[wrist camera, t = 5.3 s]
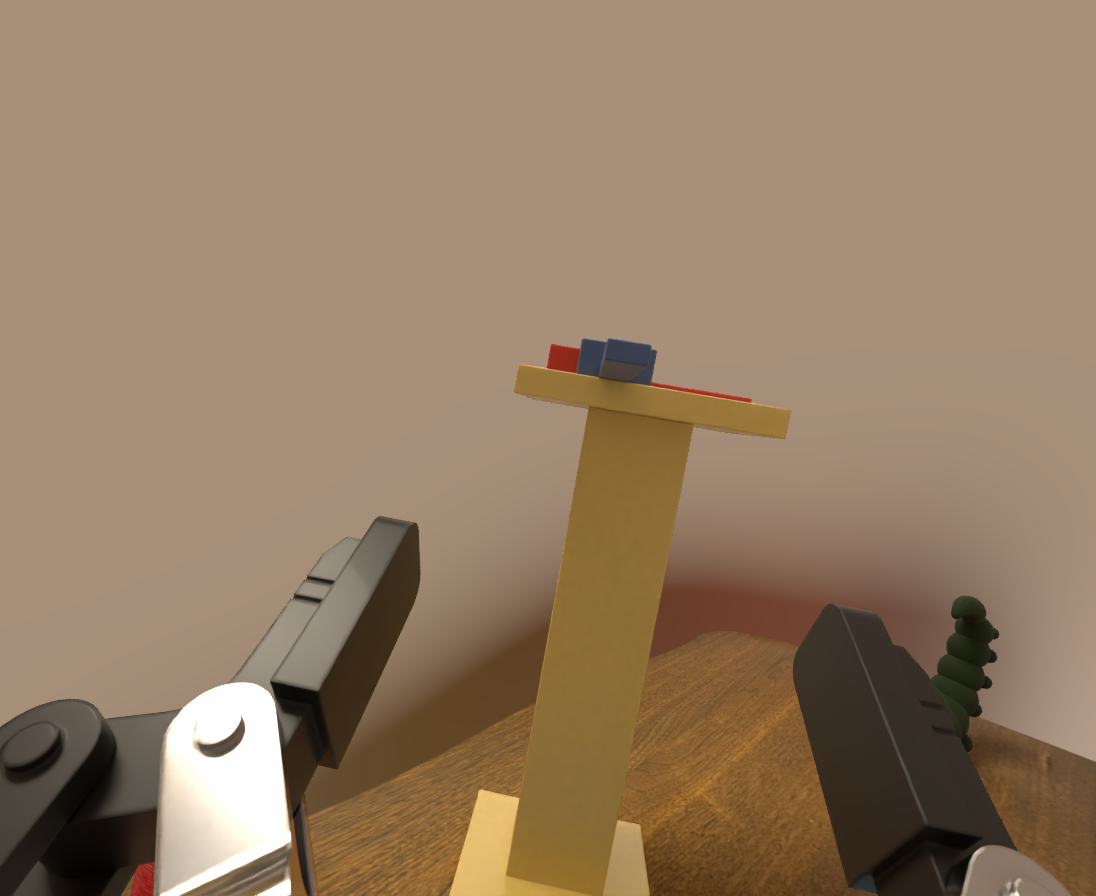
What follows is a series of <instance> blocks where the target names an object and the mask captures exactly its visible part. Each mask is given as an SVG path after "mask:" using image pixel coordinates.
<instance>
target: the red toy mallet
mask: <svg viewBox="0 0 1096 896" xmlns="http://www.w3.org/2000/svg"><path fill="white" fill-rule="evenodd" d="M579 354H580V348H573V347H567V346H561V345H555V344H551V347H550V353H549V359H548V365H547V369H552V370H558V371H564V372H570V373H576V371H577V366H578V360H579ZM651 386H653V387H659V388H665V389H671V390H677V391H683V392H689V393H695V394H700V395H706V396H712V397H718V398H724V399H730V400H736V401H742V402H748V403H751V399H749V398H743V397H737V396H730V395H725V394H719V393H713V392H707V391H701V390H695V389H689V388H683V387H677V386H671V385H665V384H659V383H653V382H651Z"/></svg>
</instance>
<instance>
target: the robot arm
mask: <svg viewBox="0 0 1096 896" xmlns="http://www.w3.org/2000/svg"><path fill="white" fill-rule="evenodd" d="M419 553H420V552H419V529H418V525H417V523H414V522H409V521H403V520H398V519H392V518H388V517H382V516H379V517H377V518H376V519H375V520H374V522H373V523H372V524H371V526H370V528H369V529H368V531H367V532H366V534H365V535H364V537H363V538H362V540H360V539H354V538H349V537H346V538H344V539H343V540H342V541H340V542H339V543H337V544H336V545H335V546H333V547H332V548H331V549H329V550H328V551H326V552H325V553H323V554H322V556H321V557H320V559H319V560H318V561H317V563H316V564H315V566H314V567H313V568H312V570H311V571H310V573H309V574H308V575H307V579H306V581H305V580H304V581H303V582H302V584H301V585H300V586H299V588H298V589H297V591H296V592H295V593H294V597H293V599H290V601H289V602H288V603H287V605H286V606H285V607H284V609H283V610H282V612H281V613H280V615H279V616H278V617H277V619H276V620H275V621H274V623H273V624H272V626H271V627H270V628H269V630H268V631H267V633H266V634H265V635H264V637H263V638H262V640H261V641H260V642H259V644H258V645H257V646H256V648H255V649H254V651H253V652H252V654H251V655H250V656H249V658H248V659H247V660H246V662H245V663H244V665H243V666H242V667H241V669H240V670H239V671H238V672H237V674H236V675H235V676H234V677H233V678H232V679H231V680H230V681H229V682H228V683H227V684H226V685H223V686H219V687H217V688H214V689H212V690H209V691H207V692H206V693H204V694H202V695H200V696H199V697H197V698H196V699H194V700H193V701H191V702H190V703H189V704H188V705H187V706H186V707H184V708H181V709H178V710H173V711H167V712H159V713H152V714H143V715H134V716H126V717H117V718H108V719H104V717H103V716H102V715H101V713H100V712H99V710H98V709H97V708H96V707H95V706H94V705H93V704H91V703H89V702H87V701H83V700H79V699H65V700H57V701H53V702H49V703H46V704H43V705H39V706H37V707H35V708H32V709H30V710H28V711H26V712H24V713H22V714H20V715H18V716H17V717H15V718H13V719H12V720H10V721H8V722H7V723H5V724H4V725H3V726H1V727H0V896H121V894H122V892H123V891H124V889H125V887H126V886H127V884H128V883H129V881H130V879H131V878H132V876H133V874H134V873H135V871H136V869H137V868H138V866H139V865H142V864H148V863H154V862H155V870H154V889H153V896H319V891H318V884H317V877H316V870H315V863H314V856H313V849H312V843H311V836H310V829H309V822H308V815H307V809H306V801H305V794H304V792H305V790H306V788H307V786H308V784H309V782H310V780H311V778H312V776H313V774H314V772H315V770H316V768H317V766H318V765H320V766H324V767H329V768H333V769H338V767H339V765H340V763H341V761H342V759H343V756H344V754H345V752H346V750H347V748H348V746H349V744H350V741H351V739H352V737H353V735H354V733H355V731H356V728H357V726H358V724H359V722H360V719H361V717H362V715H363V713H364V711H365V709H366V707H367V704H368V702H369V700H370V698H371V696H372V694H373V691H374V689H375V687H376V685H377V683H378V680H379V678H380V676H381V674H382V672H383V670H384V668H385V665H386V663H387V661H388V659H389V657H390V655H391V652H392V650H393V648H394V646H395V644H396V642H397V639H398V637H399V635H400V633H401V631H402V629H403V626H404V624H405V622H406V620H407V618H408V615H409V613H410V611H411V609H412V607H413V604H414V602H415V599H416V596H417V592H418V588H419V583H420V554H419ZM793 678H794V684H795V688H796V692H797V696H798V700H799V703H800V707H801V711H802V715H803V718H804V722H805V726H806V730H807V734H808V737H809V741H810V745H811V749H812V752H813V756H814V760H815V764H816V768H817V771H818V775H819V779H820V783H821V786H822V790H823V794H824V798H825V801H826V805H827V809H828V813H829V817H830V820H831V824H832V828H833V832H834V835H835V839H836V843H837V847H838V850H839V854H840V858H841V862H842V866H843V869H844V873H845V877H846V881H847V884H848V887H849V888H854V889H858V890H862V891H867V892H871V893H876V894H878V896H1072V895H1071V894H1070V893H1069V892H1068V891H1067V890H1066V889H1065V888H1064V886H1063V885H1062V884H1061V883H1060V882H1059V881H1058V880H1057V879H1055V878H1054V877H1053V876H1052V875H1051V874H1050V873H1049V872H1048V871H1046V870H1045V869H1044V868H1043V867H1042V866H1040V865H1039V864H1037V863H1036V862H1035V861H1033V860H1032V859H1030V858H1029V857H1027V856H1025V855H1023V854H1021V853H1020V852H1018V850H1017V849H1016V847H1015V845H1014V844H1013V842H1012V840H1011V838H1010V836H1009V834H1008V832H1007V830H1006V828H1005V826H1004V825H1003V823H1002V821H1001V819H1000V817H999V815H998V813H997V811H996V809H995V807H994V805H993V803H992V801H991V799H990V797H989V795H988V793H987V791H986V789H985V787H984V785H983V783H982V781H981V779H980V777H979V775H978V773H977V771H976V769H975V767H974V765H973V763H972V761H971V759H970V757H969V755H968V753H967V751H966V749H965V747H964V745H963V743H962V741H961V739H960V738H958V737H956V734H955V733H956V730H955V728H954V726H953V724H952V722H951V720H950V718H949V716H948V714H947V712H945V711H943V704H942V702H941V700H940V698H939V696H938V694H937V692H936V690H935V688H934V686H933V684H932V682H931V680H930V678H929V676H928V675H927V674H926V672H925V671H924V670H923V669H922V668H921V667H920V666H919V664H918V663H917V662H916V661H915V660H914V659H913V658H912V657H911V655H910V654H909V653H908V652H907V651H906V650H905V649H904V648H903V647H900V646H895V645H893V643H892V641H891V639H890V637H889V635H888V633H887V631H886V628H885V626H884V624H883V622H882V620H881V618H880V617H879V616H878V615H877V614H876V613H874V612H871V611H866V610H861V609H856V608H851V607H845V606H840V605H835V604H829V605H827V606H826V607H825V608H824V609H823V610H822V612H821V614H820V615H819V617H818V618H817V620H816V621H815V623H814V625H813V626H812V628H811V630H810V631H809V633H808V634H807V636H806V637H805V639H804V640H803V642H802V644H801V645H800V647H799V648H798V650H797V652H796V655H795V658H794V664H793Z"/></svg>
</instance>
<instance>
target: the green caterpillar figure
mask: <svg viewBox="0 0 1096 896" xmlns="http://www.w3.org/2000/svg"><path fill="white" fill-rule="evenodd" d="M951 615H952V617H953V618H954V619H957V621H956V623H955V630H956V633H954V634H952V635H951V636H950V637H949V638H948V641H947V652H948V654H946V655H944V656H943V657H942V658H941V659H940V660H939V662H938V666H937V667H938V668H937V672H938V675H935V676H934V677H932V678H931V682H932V684H933V686H934V688H935V690H936V692H937V694H938V696H939V698H940V700H941V702H942V704H943V711H945V712H947V714H948V716H949V718H950V720H951V722H952V724H953V726H954V728H955V730H956V733H955V734H956V737H958V738H960V739H961V741H962V743H963V745H964V747H965V749H966V751H967V752H970V750H971V749H972V748H973V745H972V740H971V739H970V738H969V736H968V735H967V734H966V733H967V731H968V729H969V717H970V716H972V717H978V716H980V714H981V713H982V709H981V706H980V705H979V700H978V695H977V691H979V690H980V689H981V688H985V689H988V688H990V687H991V686H992V681H991V680H990V678H988V677H987V676H985V675H984V671H983V669H982V667H983V666H985V665H986V664H987V663H994V662H995V661H996V660H997V655H996V653H995V652H994V651H993V650H990V648H989V646H988V643H990V642H991V641H992V639H997V638H998V636H999V633H998V630H996V629H995V628H993V626H992V625H991V623H990V622H989V621H988V620H987V619H986V618H985V617H986V610H985V608H984V605H983V604H982V603H981V602H980V601H979V600H978V599H976V598H974V597H970V596H960V597H958V598H957V599H955V601H954V602H953V606H952V611H951Z"/></svg>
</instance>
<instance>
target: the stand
mask: <svg viewBox="0 0 1096 896" xmlns="http://www.w3.org/2000/svg"><path fill="white" fill-rule="evenodd" d="M514 392H515V393H517V394H520V395H523V396H526V397H528V398H532V399H534V400H540V401H545V402H551V403H557V404H563V405H569V406H574V407H580V408H586V409H588V416H587V420H586V426H585V432H584V438H583V443H582V449H581V454H580V460H579V466H578V471H577V477H576V482H575V488H574V493H573V499H572V505H571V510H570V516H569V522H568V527H567V533H566V538H565V544H564V549H563V555H562V561H561V567H560V572H559V578H558V583H557V589H556V594H555V600H554V605H553V611H552V617H551V622H550V629H549V634H548V640H547V645H546V650H545V656H544V662H543V667H542V673H541V679H540V684H539V690H538V695H537V701H536V706H535V712H534V718H533V723H532V729H531V734H530V740H529V746H528V751H527V757H526V762H525V768H524V774H523V779H522V785H521V791H520V796H519V798H516V797H512V796H507V795H503V794H498V793H494V792H489V791H484V790H479V793H478V796H477V800H476V803H475V807H474V810H473V814H472V817H471V821H470V824H469V828H468V831H467V835H466V838H465V842H464V845H463V849H462V852H461V856H460V859H459V863H458V866H457V870H456V873H455V877H454V880H453V884H452V887H451V891H450V894H449V896H650V894H649V886H648V879H647V871H646V864H645V856H644V849H643V841H642V834H641V826H640V825H638V824H633V823H629V822H624V821H620V820H617V819H618V814H619V809H620V804H621V799H622V794H623V788H624V783H625V778H626V773H627V768H628V762H629V757H630V752H631V747H632V742H633V737H634V731H635V726H636V721H637V716H638V711H639V705H640V700H641V695H642V690H643V685H644V680H645V674H646V669H647V664H648V659H649V654H650V648H651V643H652V638H653V633H654V627H655V622H656V617H657V612H658V607H659V602H660V596H661V591H662V586H663V581H664V576H665V570H666V566H667V560H668V555H669V549H670V545H671V539H672V534H673V529H674V524H675V519H676V514H677V509H678V503H679V498H680V493H681V488H682V483H683V477H684V472H685V467H686V462H687V456H688V452H689V446H690V441H691V436H692V431H693V427H696V428H702V429H708V430H714V431H719V432H725V433H732V434H742V435H751V436H761V437H770V438H780V439H785V437H786V433H787V428H788V423H789V419H790V414H791V410H789V409H784V408H778V407H772V406H766V405H759V404H754V403H748V402H742V401H736V400H730V399H724V398H718V397H712V396H706V395H700V394H695V393H689V392H683V391H677V390H671V389H665V388H659V387H653V386H647V385H641V384H635V383H629V382H623V381H617V380H611V379H605V378H600V377H594V376H588V375H582V374H576V373H570V372H564V371H558V370H552V369H546V368H540V367H534V366H528V365H522V364H519V365H518V370H517V376H516V381H515V387H514Z"/></svg>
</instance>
